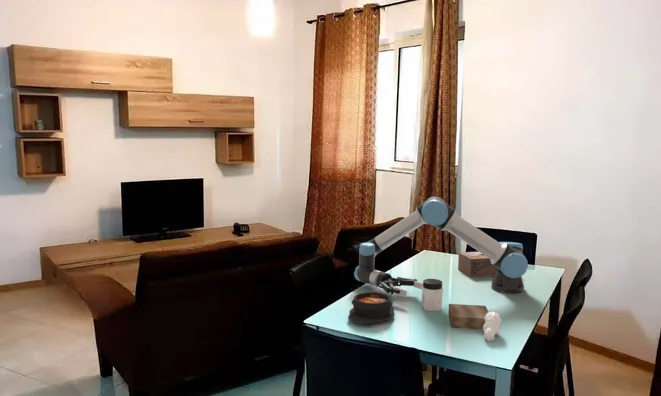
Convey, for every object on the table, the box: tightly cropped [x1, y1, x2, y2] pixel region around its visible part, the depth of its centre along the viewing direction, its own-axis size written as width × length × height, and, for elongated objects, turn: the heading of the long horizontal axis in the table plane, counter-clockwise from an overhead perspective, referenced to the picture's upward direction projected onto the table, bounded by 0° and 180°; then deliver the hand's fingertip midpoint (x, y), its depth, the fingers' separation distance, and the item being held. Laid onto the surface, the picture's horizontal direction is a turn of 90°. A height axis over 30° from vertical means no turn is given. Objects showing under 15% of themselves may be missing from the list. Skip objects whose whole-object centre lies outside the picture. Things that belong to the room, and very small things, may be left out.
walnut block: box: [447, 303, 489, 331], centre depth 205 cm, size 15×15×5 cm
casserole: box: [347, 291, 396, 325], centre depth 210 cm, size 25×19×8 cm
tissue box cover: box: [457, 251, 496, 278], centre depth 278 cm, size 26×14×10 cm, turn 101°
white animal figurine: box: [482, 311, 502, 342], centre depth 190 cm, size 6×8×12 cm
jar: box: [421, 278, 444, 312], centre depth 221 cm, size 9×8×12 cm
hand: (416, 290), depth 227 cm, fingers open, 13 cm apart
